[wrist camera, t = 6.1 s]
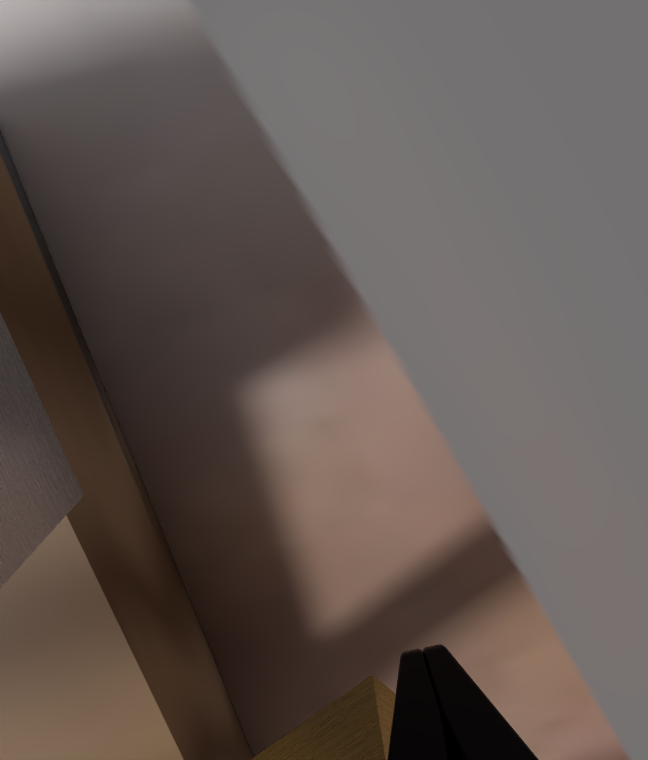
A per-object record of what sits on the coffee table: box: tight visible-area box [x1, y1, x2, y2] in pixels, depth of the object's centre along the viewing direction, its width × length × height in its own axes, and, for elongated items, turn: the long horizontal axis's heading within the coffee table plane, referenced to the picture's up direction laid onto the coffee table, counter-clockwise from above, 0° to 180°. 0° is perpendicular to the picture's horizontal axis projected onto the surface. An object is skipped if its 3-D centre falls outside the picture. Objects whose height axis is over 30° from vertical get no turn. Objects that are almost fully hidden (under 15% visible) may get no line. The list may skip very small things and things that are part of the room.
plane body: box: [0, 132, 253, 760], centre depth 11 cm, size 21×6×3 cm, turn 13°
